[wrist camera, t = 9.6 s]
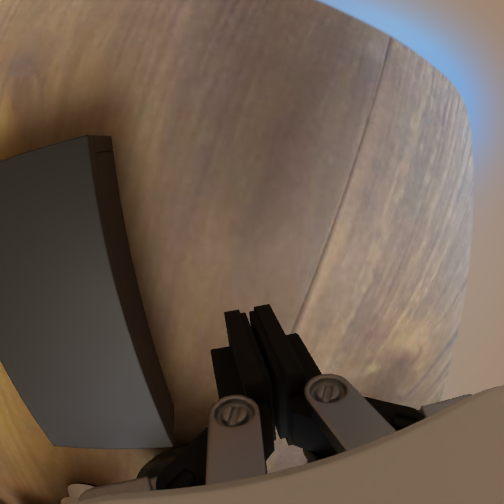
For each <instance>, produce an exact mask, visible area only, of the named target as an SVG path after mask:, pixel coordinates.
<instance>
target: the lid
mask: <svg viewBox="0 0 504 504" xmlns="http://www.w3.org/2000/svg"><path fill="white" fill-rule="evenodd" d="M0 361H1V363H2V364H3V366H4V368H5V370H6V372H7V374H8V376H9V377H10V379H11V381H12V383H13V385H14V386H15V388H16V390H17V391H18V393H19V395H20V396H21V398H22V400H23V401H24V403H25V405H26V406H27V408H28V409H29V411H30V412H31V414H32V415H33V417H34V419H35V420H36V422H37V423H38V424H39V426H40V427H41V429H42V430H43V432H44V433H45V434H46V436H47V437H48V439H49V440H50V441H51V443H52V444H53V445H54V446H60V447H74V448H95V449H143V448H164V447H173V446H174V438H173V437H174V406H173V403H172V400H171V397H170V394H169V391H168V388H167V385H166V382H165V379H164V376H163V373H162V370H161V367H160V364H159V360H158V357H157V354H156V351H155V347H154V344H153V341H152V337H151V334H150V330H149V327H148V323H147V320H146V316H145V312H144V308H143V305H142V301H141V297H140V293H139V289H138V285H137V280H136V276H135V272H134V268H133V263H132V259H131V254H130V249H129V245H128V240H127V235H126V230H125V224H124V219H123V214H122V208H121V202H120V196H119V190H118V184H117V177H116V170H115V163H114V156H113V151H112V141H111V136H92V135H86V136H82V137H78V138H74V139H70V140H66V141H62V142H59V143H55V144H52V145H48V146H45V147H41V148H38V149H35V150H31V151H28V152H25V153H22V154H19V155H16V156H13V157H10V158H7V159H4V160H1V161H0Z"/></svg>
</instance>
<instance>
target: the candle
mask: <svg viewBox="0 0 504 504" xmlns="http://www.w3.org/2000/svg"><path fill="white" fill-rule="evenodd" d="M90 488H94V487H93V486H90V485H85V484H71V485H69V486H68V493H69V496H70V497H66V498H63V499H62V500H61V504H74V503H76V502H78V499H79V497H80V495H81V494H82V493H83V492H84V491H86V490H88V489H90Z"/></svg>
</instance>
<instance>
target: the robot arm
mask: <svg viewBox="0 0 504 504" xmlns="http://www.w3.org/2000/svg"><path fill="white" fill-rule="evenodd" d="M224 315H225V321H226V327H227V334H228V340H229V347H224V348H218V349H212V350H211V356H212V362H213V367H214V373H215V379H216V384H217V390H218V395H219V400H217V401H216V402H215V403H214V404H213V405H212V407H211V408H210V411H209V420H208V427H207V428H206V429H205V430H204V431H203V432H202V433H201V434H200V435H199V436H198V437H197V438H196V439H195V440H194V441H193V442H192V443H191V444H190V445H188V446H187V447H186V448H185V449H184V450H183V451H182V452H181V453H180V454H179V455H178V456H177V457H176V458H175V459H174V460H173V461H171V462H170V463H169V464H168V465H167V466H166V467H165V468H164V469H163V470H162V471H161V472H160V473H159V475H158V476H157V477H153V478H150V479H149V478H148V477H147V476H145V477H141V478H137V479H133V480H128V481H124V482H119V483H115V484H110V485H105V486H99V487H94V488H90V489H88V490H86V491H84V492H83V493H82V494H81V495H80V497H79V499H78V502H76V503H74V504H504V386H498V387H494V388H490V389H487V390H484V391H481V392H479V393H476V394H474V395H470V394H468V395H463V396H459V397H456V398H452V399H449V400H445V401H441V402H437V403H433V404H429V405H425V406H421V408H420V410H416V409H414V408H411V407H407V406H402V405H398V404H393V403H389V402H384V401H380V400H376V399H372V398H368V397H364V396H362V395H361V394H360V393H359V392H358V391H357V390H356V389H355V388H354V387H353V386H352V385H351V384H350V383H349V381H347V380H346V379H345V378H343V377H341V376H339V375H335V374H321V372H320V370H319V369H318V367H317V365H316V364H315V362H314V360H313V358H312V357H311V355H310V353H309V352H308V350H307V348H306V347H305V345H304V343H303V342H302V340H301V338H300V336H299V335H298V334H297V333H294V334H289V335H285V333H284V331H283V329H282V327H281V325H280V324H279V322H278V320H277V318H276V316H275V314H274V312H273V310H272V308H271V307H270V305H269V304H267V305H261V306H256V307H254V311H250V312H249V315H250V324H251V326H250V324H249V321H248V318H247V316H246V313H240V311H239V310H234V311H228V312H224ZM275 426H276V429H277V432H278V434H279V437H280V439H282V438H286V440H287V443H288V445H295V446H298V447H300V448H303V452H304V455H305V456H306V458H307V459H308V461H309V462H310V463H308V464H304V465H300V466H297V467H293V468H289V469H285V470H281V471H277V472H273V473H269V474H267V466H266V460H267V459H268V458H269V456H270V455H271V454H272V452H273V451H274V440H276V433H275Z"/></svg>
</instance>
